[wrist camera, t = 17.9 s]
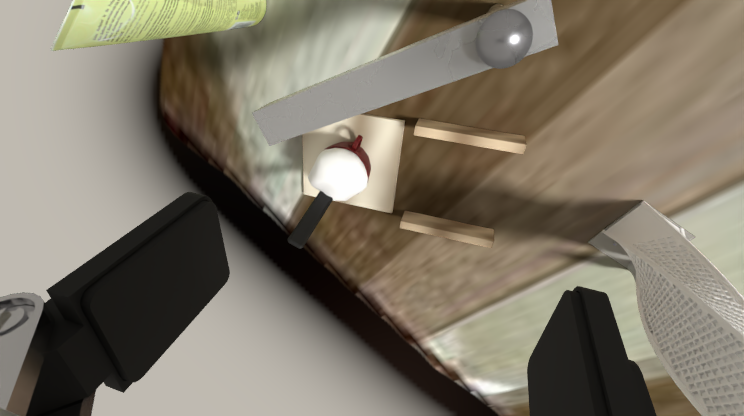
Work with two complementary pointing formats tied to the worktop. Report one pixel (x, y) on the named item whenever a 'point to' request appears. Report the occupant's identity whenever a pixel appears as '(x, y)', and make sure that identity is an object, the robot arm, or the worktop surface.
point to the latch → (415, 69)
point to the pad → (380, 147)
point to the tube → (151, 20)
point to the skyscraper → (683, 308)
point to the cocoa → (333, 183)
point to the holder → (469, 137)
